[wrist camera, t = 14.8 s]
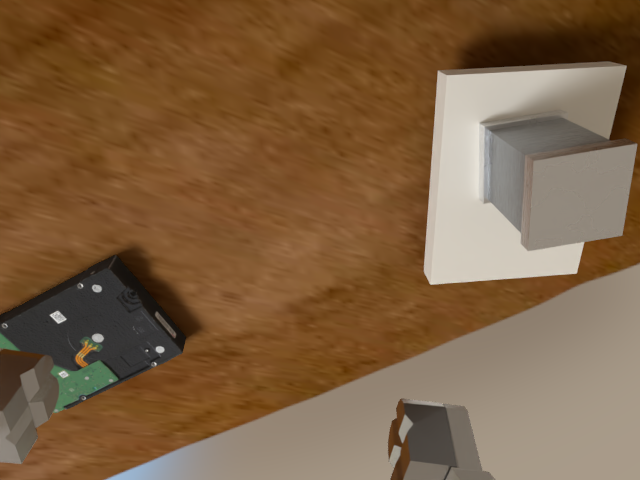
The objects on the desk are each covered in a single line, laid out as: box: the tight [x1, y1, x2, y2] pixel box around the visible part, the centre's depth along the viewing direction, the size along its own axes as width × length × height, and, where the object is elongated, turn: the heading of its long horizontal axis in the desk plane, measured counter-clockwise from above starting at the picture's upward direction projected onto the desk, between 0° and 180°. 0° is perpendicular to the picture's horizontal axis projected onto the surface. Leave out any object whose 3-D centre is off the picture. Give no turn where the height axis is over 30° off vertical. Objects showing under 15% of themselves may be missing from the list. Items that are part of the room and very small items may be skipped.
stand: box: [424, 61, 627, 285], centre depth 37 cm, size 16×12×4 cm
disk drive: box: [0, 255, 186, 413], centre depth 43 cm, size 10×3×15 cm
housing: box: [479, 109, 637, 251], centre depth 31 cm, size 6×6×8 cm
